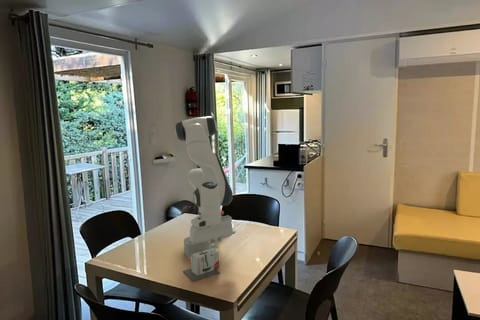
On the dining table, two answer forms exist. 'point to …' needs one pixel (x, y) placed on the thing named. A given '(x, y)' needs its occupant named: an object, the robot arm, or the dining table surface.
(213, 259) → the ink box
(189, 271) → the mat
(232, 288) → the dining table surface
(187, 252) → the grey chunky block
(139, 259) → the dining table surface
